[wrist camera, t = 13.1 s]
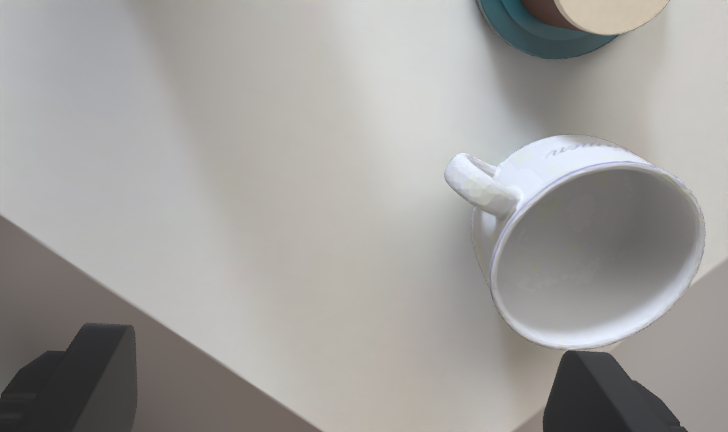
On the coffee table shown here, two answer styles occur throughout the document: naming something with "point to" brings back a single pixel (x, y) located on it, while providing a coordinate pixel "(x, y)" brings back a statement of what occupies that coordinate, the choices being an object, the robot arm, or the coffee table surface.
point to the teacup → (580, 239)
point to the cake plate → (537, 32)
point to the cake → (595, 14)
